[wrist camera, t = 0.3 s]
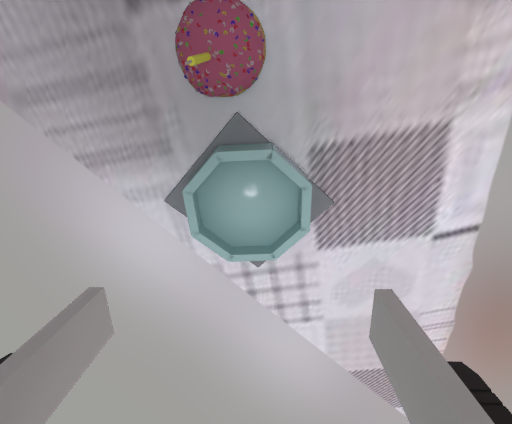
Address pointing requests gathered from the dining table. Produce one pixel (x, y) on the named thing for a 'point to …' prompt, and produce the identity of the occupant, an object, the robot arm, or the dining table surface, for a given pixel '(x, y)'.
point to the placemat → (233, 135)
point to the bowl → (248, 202)
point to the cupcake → (220, 47)
